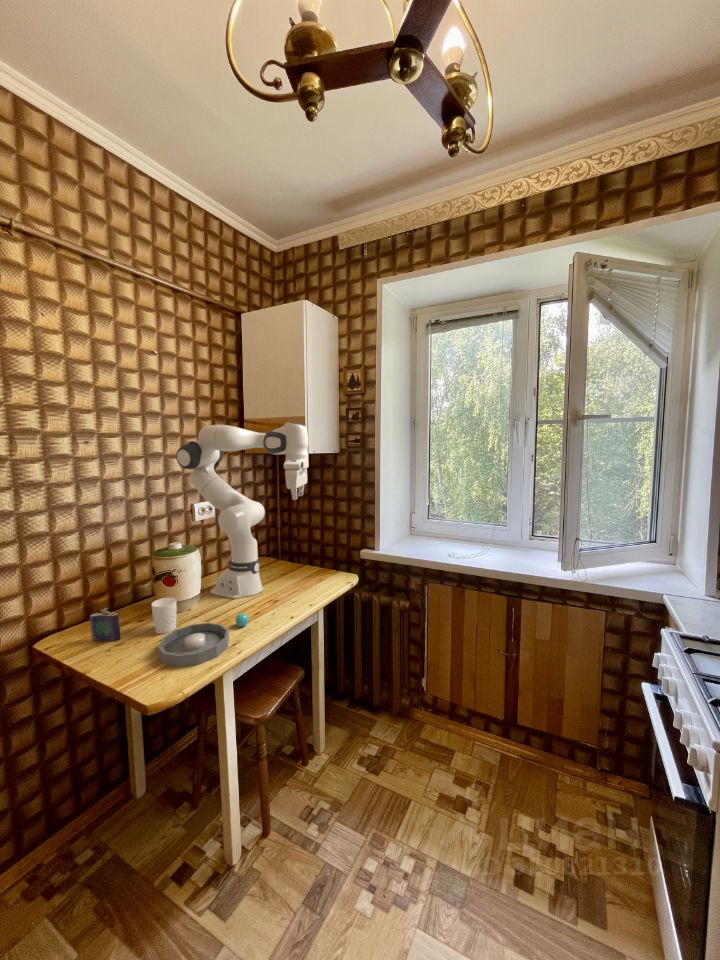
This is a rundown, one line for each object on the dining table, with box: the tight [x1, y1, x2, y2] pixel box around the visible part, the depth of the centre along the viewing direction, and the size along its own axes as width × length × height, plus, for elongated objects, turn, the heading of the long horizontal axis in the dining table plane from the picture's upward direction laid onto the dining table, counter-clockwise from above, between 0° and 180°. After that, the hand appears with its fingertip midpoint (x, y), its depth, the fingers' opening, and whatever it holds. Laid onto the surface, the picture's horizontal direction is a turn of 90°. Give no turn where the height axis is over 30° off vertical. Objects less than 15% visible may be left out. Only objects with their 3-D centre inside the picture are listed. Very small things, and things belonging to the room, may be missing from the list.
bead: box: [235, 612, 249, 628], centre depth 136 cm, size 4×4×4 cm
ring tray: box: [157, 622, 230, 668], centre depth 122 cm, size 20×20×4 cm
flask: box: [89, 607, 122, 643], centre depth 128 cm, size 9×3×11 cm, turn 90°
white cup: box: [151, 597, 178, 635], centre depth 134 cm, size 8×8×10 cm
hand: (297, 497), depth 152 cm, fingers open, 8 cm apart
